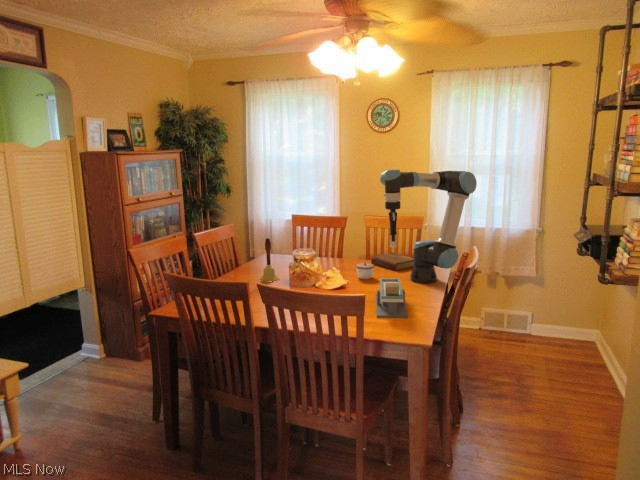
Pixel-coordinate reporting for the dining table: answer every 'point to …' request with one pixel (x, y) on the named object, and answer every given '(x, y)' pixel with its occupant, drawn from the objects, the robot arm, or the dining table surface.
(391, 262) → the diary
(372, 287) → the dining table surface
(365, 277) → the lidded jar
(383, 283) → the seesaw beam
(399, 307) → the seesaw stand
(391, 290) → the beige square block
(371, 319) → the dining table surface
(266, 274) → the handbell
